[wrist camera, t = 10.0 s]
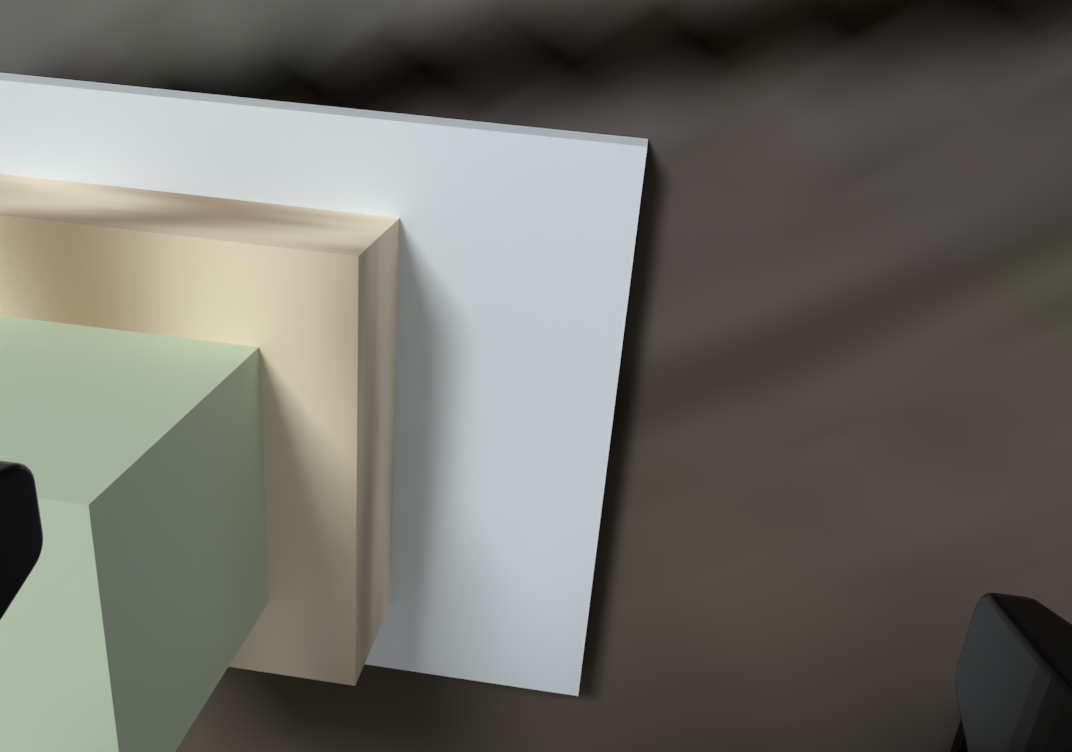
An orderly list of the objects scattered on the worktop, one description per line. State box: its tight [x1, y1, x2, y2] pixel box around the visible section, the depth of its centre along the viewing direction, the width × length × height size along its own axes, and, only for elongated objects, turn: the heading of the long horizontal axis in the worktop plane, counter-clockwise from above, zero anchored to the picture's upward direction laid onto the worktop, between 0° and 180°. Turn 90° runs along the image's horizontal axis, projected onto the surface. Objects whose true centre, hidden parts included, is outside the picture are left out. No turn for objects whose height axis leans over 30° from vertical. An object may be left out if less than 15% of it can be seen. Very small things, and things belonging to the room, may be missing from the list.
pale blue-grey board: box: [0, 73, 648, 696], centre depth 23 cm, size 20×14×1 cm
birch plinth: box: [0, 173, 400, 686], centre depth 21 cm, size 10×10×3 cm
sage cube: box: [0, 316, 269, 752], centre depth 17 cm, size 6×6×6 cm
